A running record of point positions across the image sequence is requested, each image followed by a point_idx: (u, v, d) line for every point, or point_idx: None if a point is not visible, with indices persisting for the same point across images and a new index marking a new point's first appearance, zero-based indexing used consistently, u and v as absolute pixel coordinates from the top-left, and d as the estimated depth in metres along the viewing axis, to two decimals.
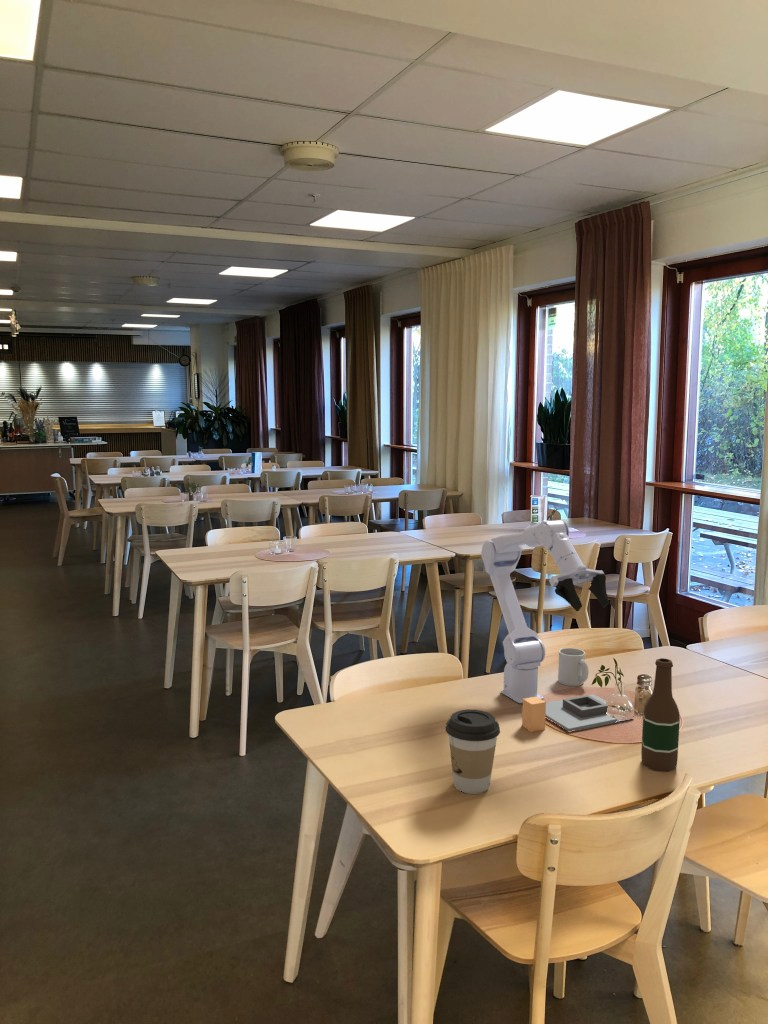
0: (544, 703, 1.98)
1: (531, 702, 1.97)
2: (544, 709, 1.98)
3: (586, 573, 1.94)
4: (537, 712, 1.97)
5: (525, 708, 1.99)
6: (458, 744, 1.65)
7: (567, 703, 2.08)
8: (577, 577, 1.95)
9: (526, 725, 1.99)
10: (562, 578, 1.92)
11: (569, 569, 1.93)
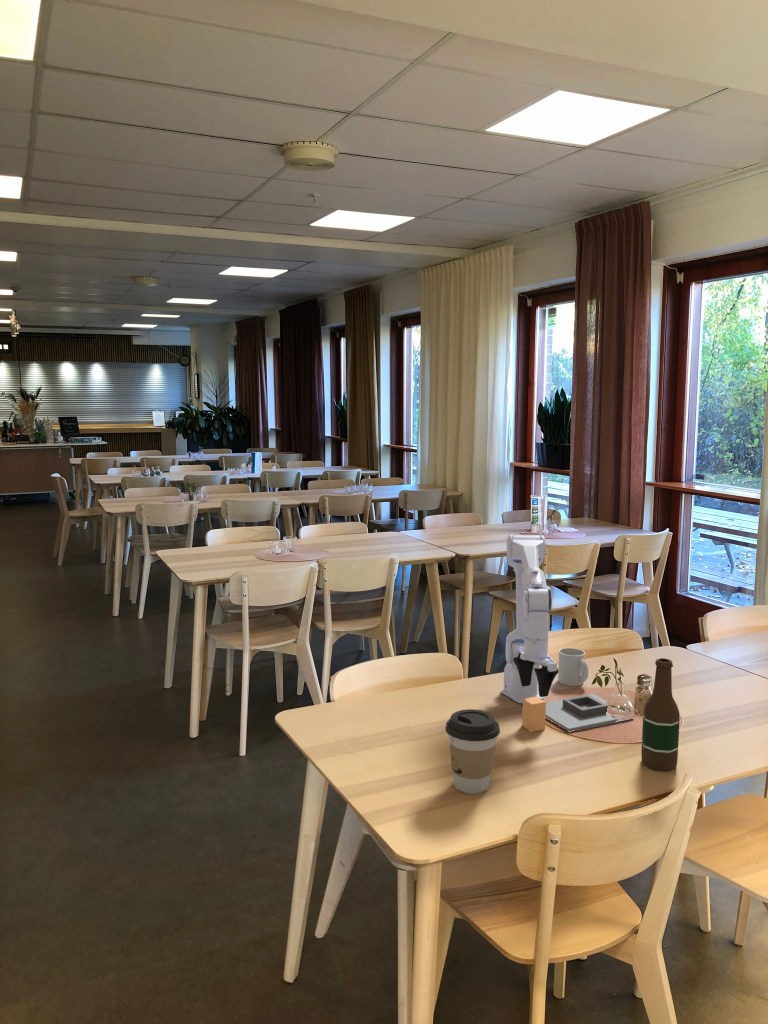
0: (544, 703, 1.98)
1: (531, 702, 1.97)
2: (544, 709, 1.98)
3: None
4: (537, 712, 1.97)
5: (525, 708, 1.99)
6: (458, 744, 1.65)
7: (567, 703, 2.08)
8: None
9: (526, 725, 1.99)
10: None
11: None
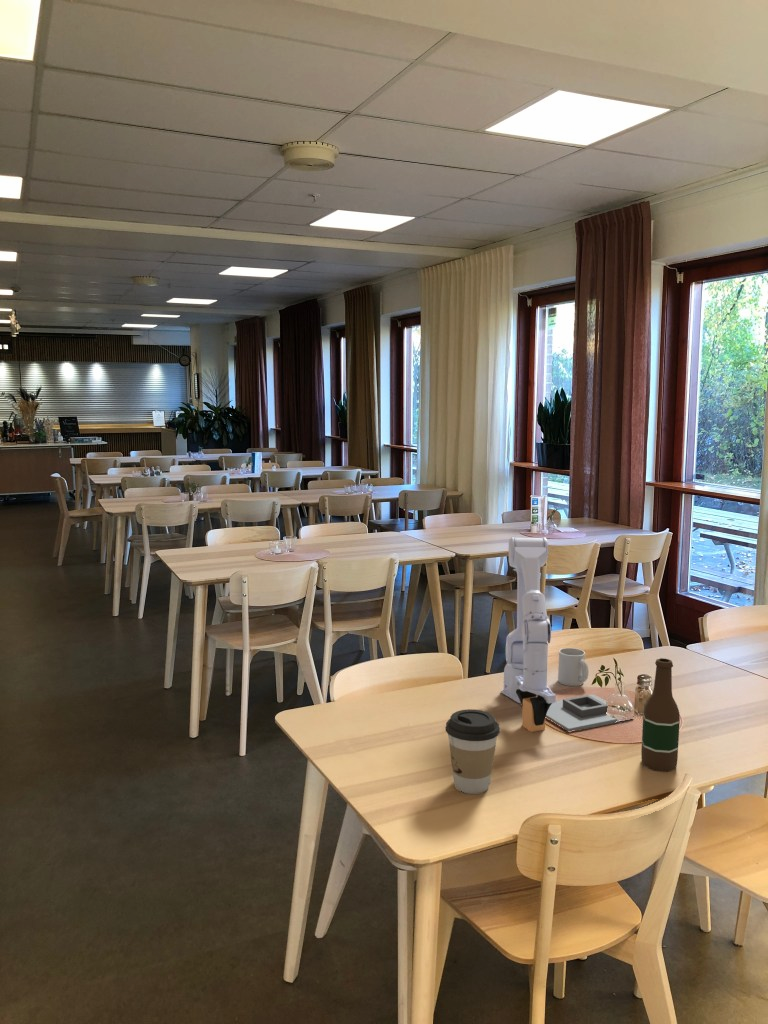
0: None
1: None
2: None
3: None
4: None
5: (525, 708, 1.99)
6: (458, 744, 1.65)
7: (567, 703, 2.08)
8: None
9: (526, 725, 1.99)
10: None
11: None
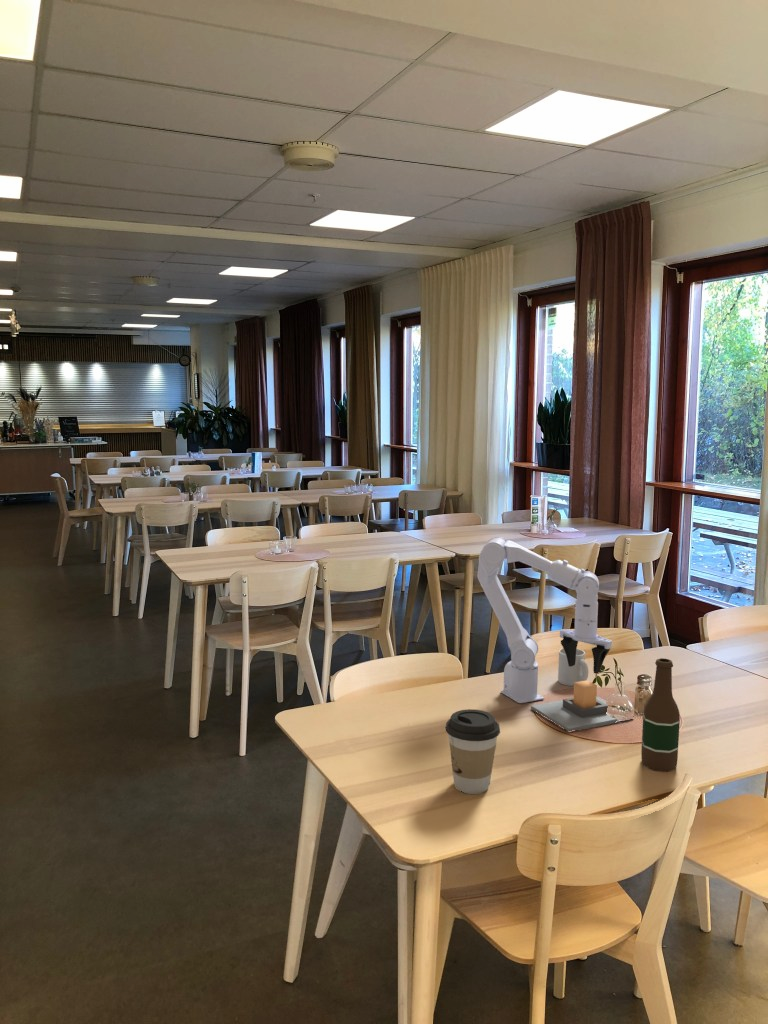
0: (595, 686, 2.06)
1: (583, 685, 2.06)
2: (595, 692, 2.06)
3: None
4: (588, 694, 2.05)
5: (576, 691, 2.07)
6: (458, 744, 1.65)
7: (567, 703, 2.08)
8: None
9: None
10: None
11: (574, 632, 2.13)
